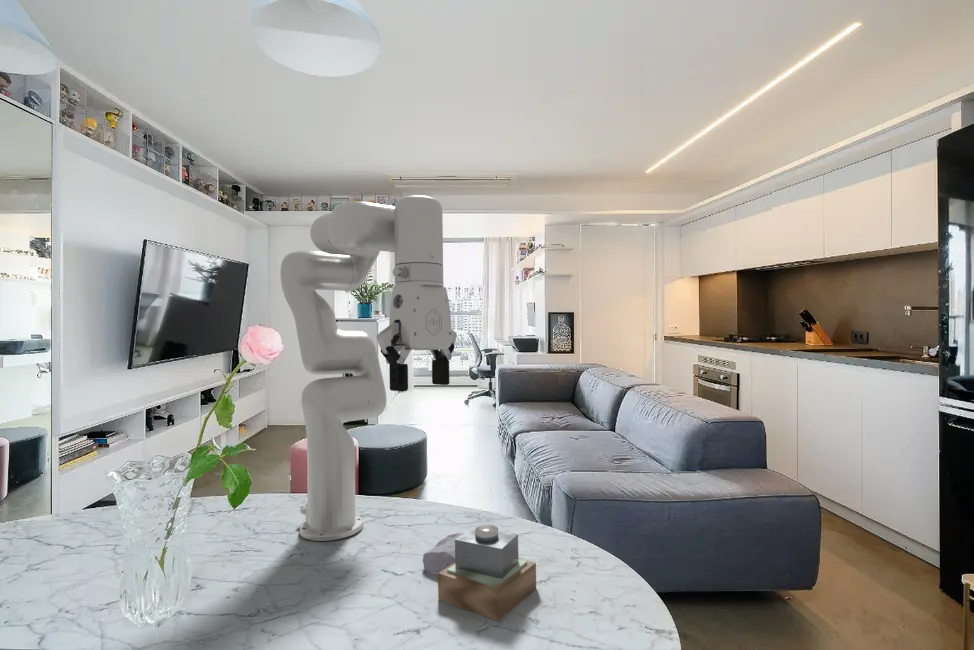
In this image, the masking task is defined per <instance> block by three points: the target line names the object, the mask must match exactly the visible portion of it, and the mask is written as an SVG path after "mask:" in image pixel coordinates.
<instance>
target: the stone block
mask: <svg viewBox="0 0 974 650" xmlns="http://www.w3.org/2000/svg"><path fill="white" fill-rule="evenodd" d="M463 533H464V532H462V533H461V532H457V533H452V534H449V535H447V536H446V537H445V538H443V539H441V540H440V541H438V542H437V543H436V544H435V545H434V547H432V548H430V549H429V550H428V551H426V552H425V553H423V555H422V556H423V557H422V564H423V568H424V570H425V572H427V573H430V574H433V575H435V576H438V573H439V572H440V571H442V570H444V569H445V568H447V567H448V566H450V565H452V564H453V563H455V539H457V538H458V537H459V536H461V535H462V534H463Z"/></svg>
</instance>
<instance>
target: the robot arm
mask: <svg viewBox="0 0 974 650" xmlns="http://www.w3.org/2000/svg"><path fill="white" fill-rule="evenodd" d="M394 204H395V205H394V206H393V205H386V204H382V203H381V204H380V203H374V202H368V201H355V200H354V201H348V202H347V201H346V202H342V203H341V202H340V203H338V204H336V205H335V206H334V207H333V209H332V210H331V212H328V213H325V214H321V215H320V216H319V217H317V218H316V219H315V220H314V221H313V223H312V224H311V225H310V226H311V227H310V230H309V231H310V232H309V233H310V239H311V241H312V244H313V245H314V246H315V247H316V248H317V250H296V251H292V252H289V253H288V254H286V255H285V256H284V258H282V260H281V264H280V270H279V271H280V274H279V275H280V286H281V289H282V293H283V296H284V298H285V300H286V303H287V305H288V307H289V309H290V310H291V313H292V315H293V318H294V322H295V327H296V328H295V329H296V333H297V334H296V335H297V340H298V344H299V345H298V346H299V352H300V356H301V361H302V365H303V367H304V369H305V371H306V372H308V373H309V374H311V375H318V376H319V375H320V376H321V375H324V376H325V375H340V374H352V376H337V377H336V376H334V377H324V378H319V379H315V380H312V381H310V382H309V383H307V384H306V386H305V387H304V389H303V391H302V394H301V408H302V412H303V418H304V424H305V433H306V434H305V435H306V458H307V460H306V462H307V463H306V465H307V475H306V476H307V478H306V480H307V481H306V482H307V502H306V504H305V506H304V507H300V510H299V513H300V514H302V515H304V516H305V522H303V523H302V524H301V526H300V527H299V535H300V536H301V537H302V538H304V539H305V540H308V541H309V540H310V541H313V542H315V541H316V542H328V541H337V540H341V539H345V538H348V537H351V536H353V535H356V534H357V533H358V532H360V531H361V530H362V529H363V528H364V520H363V518H362V517H361V516H359V515H356V459H355V457H356V454H355V450H356V449H355V442H354V439H353V437H352V435H351V434H350V433H349V431H347V429H346V428H345V427H344V425H343V424H344V423H348V422H355V421H363V420H369V419H374V418H377V417H379V416H381V414H384V413H383V412H384V411H385V410H386V409H385V408H386V406H387V405H386V404H387V392H386V386H385V381H384V376H383V373H382V368H381V364H380V360H379V356H378V351H377V348H376V344H375V341H374V339H372V337H371V336H370V335H369V334H368V333H366V332H365V331H360V330H341V329H340V328H338V327H339V326H338V325H337V320H336V314H335V312H334V310H333V308H332V306H330V304H329V303H328V302H327V300H326V299H325V298H324V297H323V296H321V295H320V294H318V292H317V290H322V291H337V292H338V291H342V292H346V291H347V292H348V291H349V292H351V291H355V290H357V289H359V288H360V287H361V286H362V285H363V283H364V282H365V281H366V278H367V276H368V274H369V273H370V270H371V269H372V268H373V266H374V264H375V262H376V260H377V258H378V256H379V254H380V252H390V253H394V268H393V269H392V275H393V276H394V285H393V287H392V292H391V299H390V307H389V319H388V320H389V326H386V327H385V328H384V329H383V330H381V331H380V332H378V333H377V334H376V342H378V345H379V348H380V353H381V354H382V356H383V357H384V358H385V362H386V364H387V365H388V366H389V368H388V369H389V371H388V372H389V375H388V376H389V391H391V392H392V391H393V392H407V391H408V390H409V366H408V363H405V361H406V360H407V359H408V356H409V355H410V353H411V351H430V353H431V354H432V356H433V358H434V359H432V360H431V383H432V384H433V385H436V386H437V385H439V386H447V385H449V384H450V361H451V360H452V356H453V355H452V353H453V352H454V350H455V344H456V340H457V337H458V335H457V332H456V331H455V330H453V328H452V317H451V316H452V315H451V307H450V301H449V294H448V292H447V291H448V290H447V287H444V286H445V285H444V247H443V246H444V243H443V242H444V236H443V235H444V233H443V232H444V231H443V229H444V225H443V219H444V218H443V208H442V207H443V206H442V204H441V202H440V201H439V200H438V199H436V198H434V197H430V196H427V195H409V196H403V197H401V198H399V199H398V200H397V201H396V203H394Z"/></svg>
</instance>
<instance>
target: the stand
mask: <svg viewBox="0 0 974 650" xmlns="http://www.w3.org/2000/svg"><path fill="white" fill-rule="evenodd" d="M518 561H519V562H518V563H517V564H516V565H515V566H514V567H513V568H512V570H511V571H510V572H509V573H508V574H507V575H506V576H505V577H504V578H503V579H500V578H496V577H491V576H487V575H482V574H478V573H474V572H469V571H465V570H461V569H456V568H455V563H453V564H452V565H450V566H448V567H447V568H445V569H444V570H442V571H440V572H439V573H438V575H437V596H438V600H439V601H442V602H445V603H448V604H449V605H450V604H451V605H453V606H455V607H459V608H461V609H464V610H466V611H469V612H472V613H475V614H477V615H480V616H483V617H486V618H489V619H491V620H494V621H496V620H497V621H496V622H501V620H502V619H503V618H504V617H506V616H507V615H508V614H510V612H511V611H512V610H514V608H516V607H517V606H518V605H519V604H520V603H521V602H523V600H525V599H526V598H527V597H528V596H530V594H531V593H533V592H534V591H535V590H536V589H537V563H536V561H535V562H534V561H532V560H528V559H524V558H520V557H518Z"/></svg>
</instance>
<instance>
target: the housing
mask: <svg viewBox="0 0 974 650" xmlns="http://www.w3.org/2000/svg"><path fill="white" fill-rule="evenodd" d="M462 533H463V534H462V535H461V536H459V537H458V538H457V539H455V568H456V569H461V570H465V571H469V572H474V573H478V574H482V575H487V576H491V577H496V578H500V579H503V578H504V577H505V576H506V575H507V574H508V573H509V572H510V571H511V570H512V568H513V567H514V566H515V565H516V564H517V563H518V562H519V561H518V558H519V534H518V533H514V532H508V531H502V530H499V527H498V526H496V525H492V524H482V525H481V524H480V525H479V526H475V525H473V526H472V527H470V528H469V529H467V530H466V531H465V532H462Z"/></svg>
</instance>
